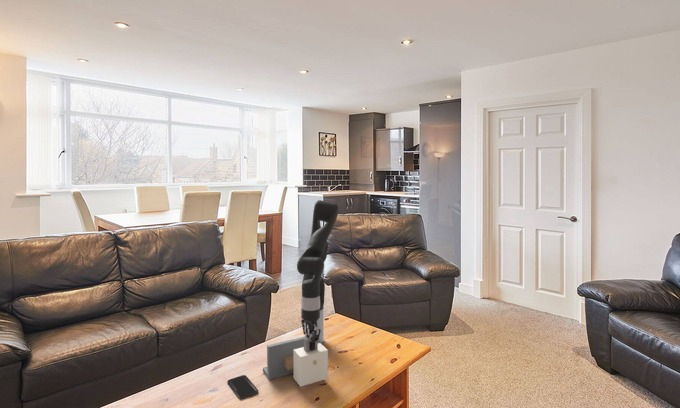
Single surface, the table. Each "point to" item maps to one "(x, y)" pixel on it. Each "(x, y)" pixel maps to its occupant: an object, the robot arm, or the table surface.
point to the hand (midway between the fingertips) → (310, 348)
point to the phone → (242, 387)
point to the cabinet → (310, 363)
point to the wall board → (281, 358)
